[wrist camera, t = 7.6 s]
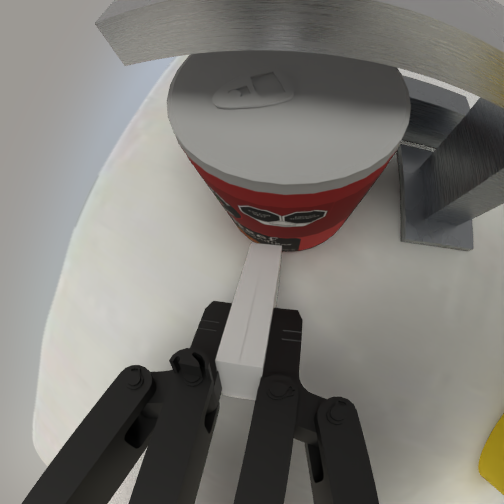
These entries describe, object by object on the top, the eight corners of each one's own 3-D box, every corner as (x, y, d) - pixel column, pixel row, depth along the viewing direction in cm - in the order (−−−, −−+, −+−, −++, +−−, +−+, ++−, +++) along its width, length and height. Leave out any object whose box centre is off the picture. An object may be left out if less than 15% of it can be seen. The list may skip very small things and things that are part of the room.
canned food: (208, 185, 19) (134, 78, 8) (302, 127, 19) (307, 0, 8) (272, 279, 17) (248, 251, 6) (371, 209, 17) (453, 114, 6)
